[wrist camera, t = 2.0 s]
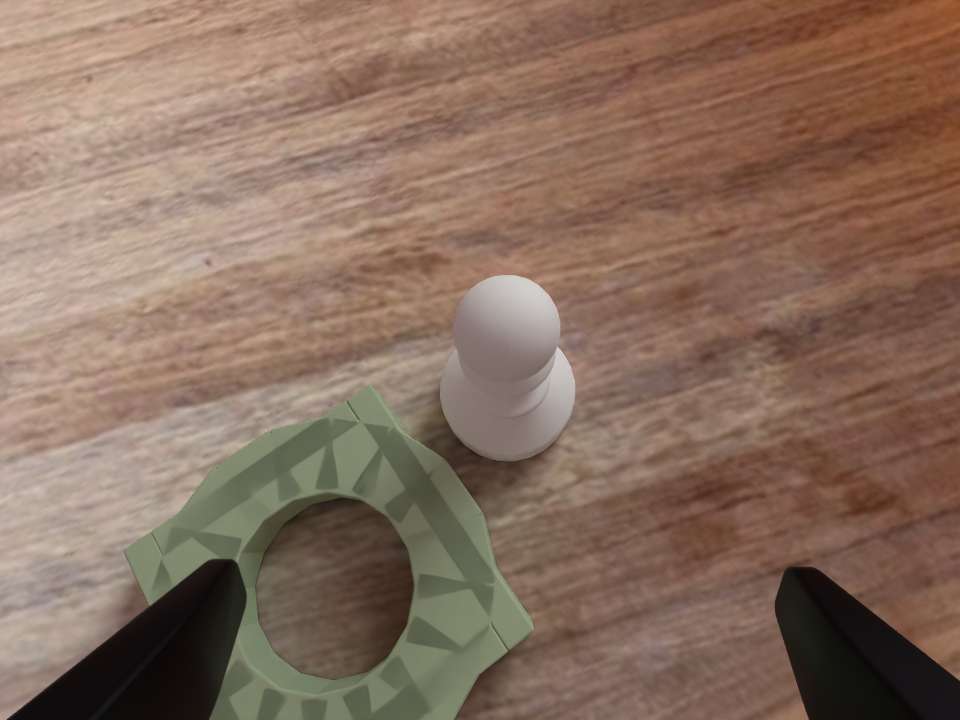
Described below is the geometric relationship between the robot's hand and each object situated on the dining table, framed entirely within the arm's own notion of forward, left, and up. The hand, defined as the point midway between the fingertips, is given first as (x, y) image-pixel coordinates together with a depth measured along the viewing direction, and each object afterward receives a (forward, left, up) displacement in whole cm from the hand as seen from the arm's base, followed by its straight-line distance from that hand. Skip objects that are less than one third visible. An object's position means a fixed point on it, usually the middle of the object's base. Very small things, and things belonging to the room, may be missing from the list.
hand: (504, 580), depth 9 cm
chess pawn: (+3, +5, -12) cm, 13 cm away
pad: (-6, +3, -11) cm, 13 cm away
